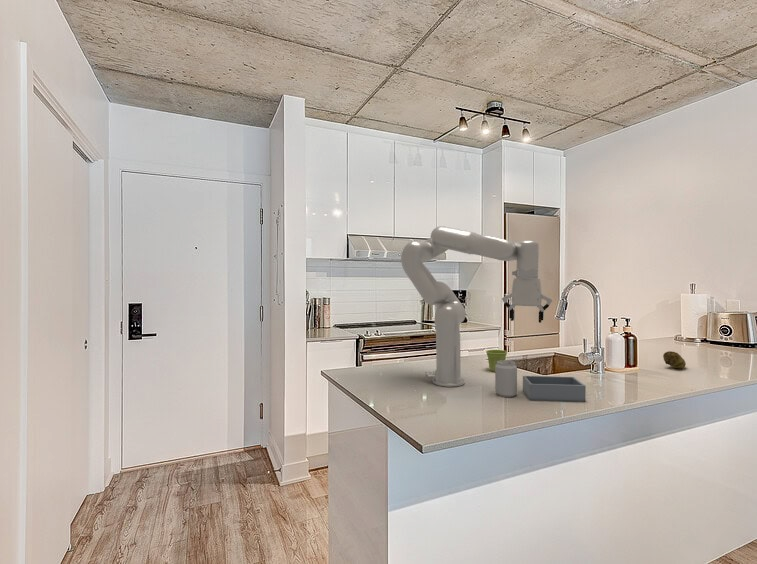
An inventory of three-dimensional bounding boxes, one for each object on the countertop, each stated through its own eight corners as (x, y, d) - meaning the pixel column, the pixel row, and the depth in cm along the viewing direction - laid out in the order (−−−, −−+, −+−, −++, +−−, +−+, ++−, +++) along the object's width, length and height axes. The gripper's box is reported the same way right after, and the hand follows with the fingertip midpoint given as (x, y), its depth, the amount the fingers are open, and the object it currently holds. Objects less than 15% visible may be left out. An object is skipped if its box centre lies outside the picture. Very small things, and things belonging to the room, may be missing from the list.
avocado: (694, 369, 186) (695, 351, 186) (674, 371, 182) (674, 353, 182) (676, 365, 194) (676, 348, 194) (655, 367, 190) (656, 350, 190)
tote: (530, 400, 143) (530, 384, 143) (522, 390, 155) (522, 375, 155) (585, 401, 141) (585, 385, 141) (573, 391, 153) (573, 376, 153)
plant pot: (485, 372, 184) (485, 352, 183) (486, 367, 193) (486, 349, 192) (507, 373, 181) (507, 353, 181) (507, 369, 190) (507, 350, 190)
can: (518, 398, 146) (518, 364, 146) (496, 397, 147) (496, 363, 147) (515, 392, 153) (515, 359, 153) (494, 391, 155) (494, 359, 154)
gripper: (501, 274, 153) (500, 321, 154) (551, 275, 146) (550, 324, 146) (504, 274, 160) (503, 318, 160) (553, 275, 152) (552, 321, 153)
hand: (526, 321), depth 153 cm, fingers open, 9 cm apart
